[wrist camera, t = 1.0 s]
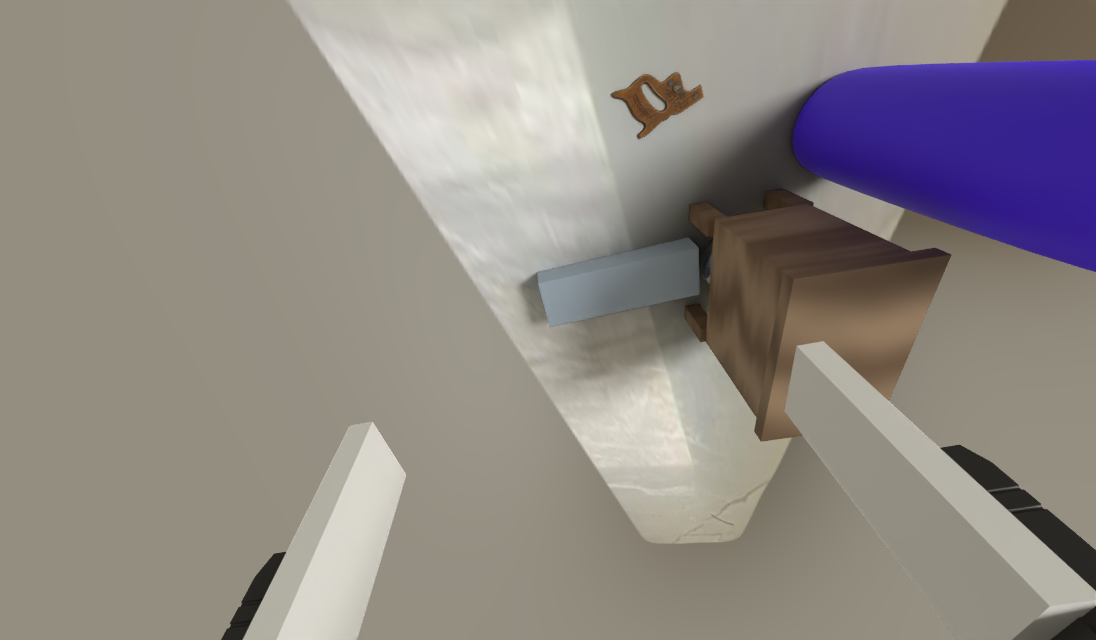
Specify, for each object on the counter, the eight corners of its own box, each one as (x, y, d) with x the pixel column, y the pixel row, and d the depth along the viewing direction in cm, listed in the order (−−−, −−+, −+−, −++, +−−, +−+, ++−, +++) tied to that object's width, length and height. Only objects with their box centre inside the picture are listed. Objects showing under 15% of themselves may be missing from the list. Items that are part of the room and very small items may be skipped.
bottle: (779, 182, 35) (1420, 458, 10) (797, 74, 31) (2033, 80, 6) (873, 167, 35) (1780, 414, 10) (904, 57, 31) (2729, -23, 5)
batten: (537, 270, 39) (537, 283, 37) (687, 236, 38) (698, 247, 36) (548, 311, 42) (549, 327, 39) (688, 280, 41) (699, 294, 38)
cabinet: (689, 199, 36) (793, 279, 22) (784, 183, 35) (951, 254, 21) (684, 321, 43) (760, 441, 29) (763, 309, 43) (878, 425, 29)
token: (700, 234, 38) (708, 242, 36) (762, 224, 38) (773, 231, 36) (697, 288, 41) (704, 298, 39) (754, 279, 41) (764, 288, 39)
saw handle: (936, -142, 25) (945, -146, 25) (940, -59, 27) (949, -62, 27) (608, 89, 31) (609, 90, 31) (632, 142, 33) (634, 143, 33)
